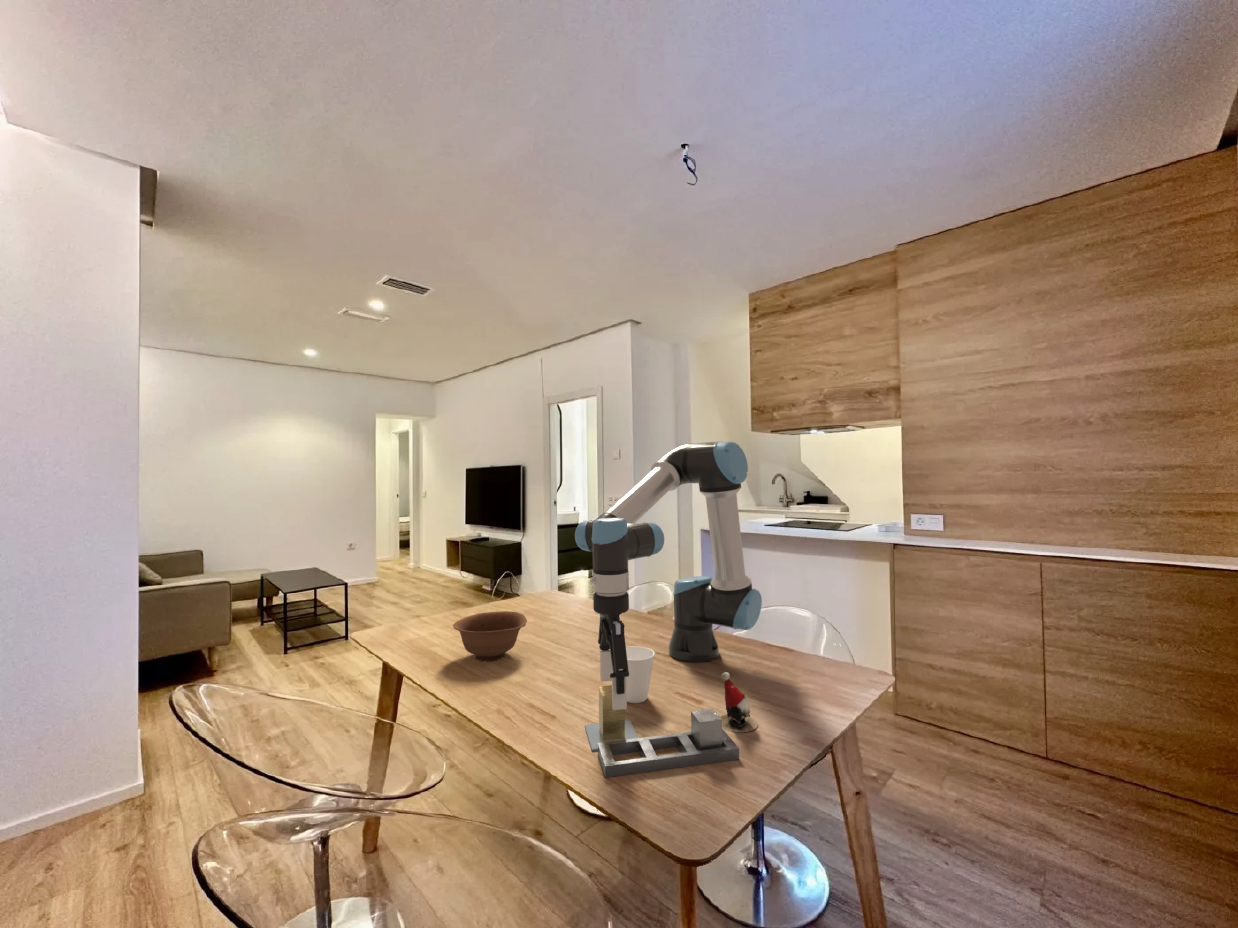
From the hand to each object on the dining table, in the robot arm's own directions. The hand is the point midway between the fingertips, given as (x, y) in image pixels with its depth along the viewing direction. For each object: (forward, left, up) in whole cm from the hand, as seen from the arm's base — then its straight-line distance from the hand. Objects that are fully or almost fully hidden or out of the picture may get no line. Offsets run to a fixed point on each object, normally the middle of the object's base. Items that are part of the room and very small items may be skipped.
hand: (612, 693), depth 103 cm
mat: (0, 0, -8) cm, 9 cm away
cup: (-9, -16, -9) cm, 20 cm away
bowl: (+27, -54, -9) cm, 61 cm away
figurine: (-28, +1, -9) cm, 29 cm away
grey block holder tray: (-9, +10, -8) cm, 16 cm away
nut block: (0, 0, -8) cm, 8 cm away
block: (-17, +10, -8) cm, 21 cm away
